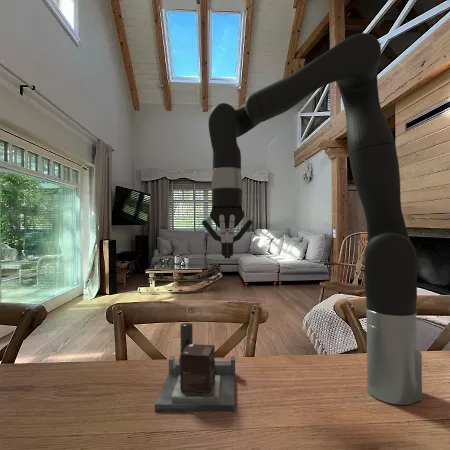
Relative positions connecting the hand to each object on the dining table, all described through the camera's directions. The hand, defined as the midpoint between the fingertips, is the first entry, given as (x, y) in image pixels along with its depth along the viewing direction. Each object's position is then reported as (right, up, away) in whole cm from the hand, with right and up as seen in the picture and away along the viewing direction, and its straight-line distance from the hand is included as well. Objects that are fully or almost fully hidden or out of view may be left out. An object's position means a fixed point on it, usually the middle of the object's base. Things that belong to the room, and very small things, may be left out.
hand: (227, 258), depth 80 cm
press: (-6, -27, -11) cm, 30 cm away
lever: (-9, -24, -5) cm, 26 cm away
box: (-6, -25, -14) cm, 29 cm away
